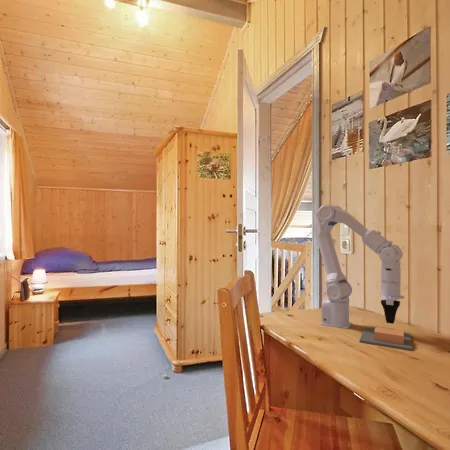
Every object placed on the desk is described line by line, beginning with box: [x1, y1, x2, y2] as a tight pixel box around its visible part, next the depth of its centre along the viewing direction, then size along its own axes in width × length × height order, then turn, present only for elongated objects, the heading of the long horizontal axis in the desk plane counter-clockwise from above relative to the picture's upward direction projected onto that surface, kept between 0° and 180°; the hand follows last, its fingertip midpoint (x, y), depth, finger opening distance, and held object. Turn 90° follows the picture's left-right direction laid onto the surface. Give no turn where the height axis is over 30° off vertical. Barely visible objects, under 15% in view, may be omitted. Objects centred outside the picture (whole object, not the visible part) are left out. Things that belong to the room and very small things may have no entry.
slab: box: [374, 326, 405, 345], centre depth 102 cm, size 8×2×6 cm
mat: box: [359, 326, 413, 352], centre depth 105 cm, size 14×16×1 cm
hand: (390, 322), depth 109 cm, fingers closed
